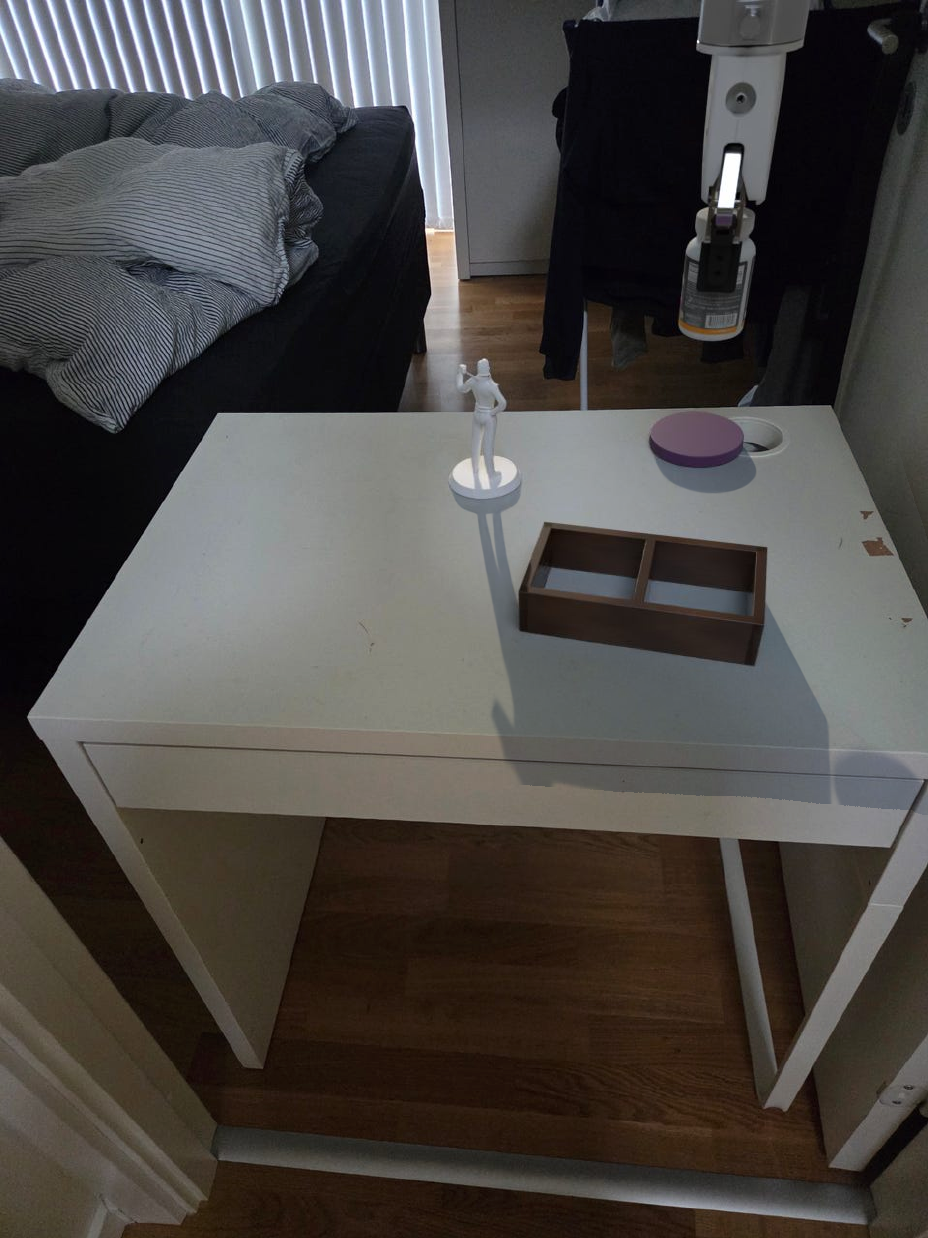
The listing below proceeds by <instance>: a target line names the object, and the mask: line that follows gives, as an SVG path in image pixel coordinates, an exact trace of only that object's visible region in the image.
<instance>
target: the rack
mask: <svg viewBox="0 0 928 1238" xmlns="http://www.w3.org/2000/svg"><path fill="white" fill-rule="evenodd" d="M768 550H769V549H768V547H767V546H761V545H753V544H752V545H751V544H743V543H735V542H727V541H718V540H709V539H699V538H691V537H683V536H673V535H665V534H657V533H656V534H655V533H648V532H647V533H646V532H638V531H629V530H622V529H621V530H620V529H611V528H604V527H603V528H602V527H595V526H594V527H593V526H587V525H577V524H576V525H575V524H568V523H561V522H560V523H559V522H550V521H543V524H542V526H541V529H540V532H539V534H538V537H537V540H536V543H535V546H534V548H533V551H532V553H531V556H530V559H529V561H528V565H527V567H526V569H525V573H524V575H523V578H522V580H521V583H520V586H519V589H518V591H517V595H518V596H517V597H518V630H519V632H523V633H524V632H525V633H530V634H536V635H544V636H552V637H558V638H564V639H572V640H578V641H584V642H591V643H598V644H605V645H612V646H618V647H619V646H620V647H624V648H631V649H640V650H644V651H645V650H646V651H653V652H659V653H665V654H673V655H678V656H687V657H692V658H693V657H694V658H699V659H706V660H714V661H719V662H725V663H733V664H739V665H740V664H741V665H746V666H752V667H754V666H756V662H757V658H758V656H759V649H760V646H761V641H762V639H763V638H762V637H763V633H764V629H765V623H766V622H765V619H766V599H767V598H766V596H767V572H768V571H767V570H768V569H767V568H768ZM552 568H556V569H564V570H573V571H580V572H588V573H596V574H605V575H612V576H619V577H627V578H634V579H637V580H636V583H635V588H634V593H633V597H632V599H626V598H620V597H613V596H612V597H610V596H603V595H596V594H589V593H582V592H581V593H580V592H574V591H566V590H561V589H560V590H559V589H551V588H545V587H546V584H547V581H548V578H549V575H550V572H551V569H552ZM652 581H659V582H667V583H674V584H682V585H691V586H700V587H707V588H713V589H724V590H730V591H737V592H747V602H746V615H745V614H738V613H730V612H724V611H714V610H710V609H709V610H708V609H701V608H694V607H686V606H678V605H672V604H664V603H656V602H648V601H649V596H650V591H651V586H652Z"/></svg>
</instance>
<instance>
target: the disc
mask: <svg viewBox="0 0 928 1238" xmlns="http://www.w3.org/2000/svg"><path fill="white" fill-rule="evenodd" d="M648 438H649V440H648V443H649V448H650V450H651V451H652V452H653V453H654V454H655V455H656V456H657V457H659V458H660V459H662V460H664V461H665V462H668V463H671V464H672V465H673V464H674V465H678V466H681V467H687V468H713V467H717V466H723V465H724V464H727V463H730V462H732V461H734V460H735V459H736V458H737V457H738V456H739V455H740V454H741V452H742V450H743V446H744V441H745V434H744V430H743V429H742V428H741V426H740V425H739V424H737V423H736V422H735V421H733V420H732V419H730V418H728V417H726V416H723V415H720V414H717V413H712V412H707V411H698V410H697V411H695V410H694V411H690V410H689V411H679V412H675V413H671V414H667V415H664V416H663V417H660V418H659V419H658V420H655V422H654V423H653V424H652V426H651V427H650V429H649V437H648Z"/></svg>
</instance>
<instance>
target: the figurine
mask: <svg viewBox="0 0 928 1238" xmlns="http://www.w3.org/2000/svg"><path fill="white" fill-rule="evenodd" d="M490 369H491V367H490V363H489V360H488V359H487V358H482V359H481V360H478V362H477V366H476V370H477V374H476V375H473V374H472V373H470V372H469V371H467V365H466V364H459V367H458V372H457V375H456V377H455V387H456V390H457V391H458V392H459V393H462V394H463V393H464V394H467V393H469V392H470V391H471V392H472V395H473V396H474V399H475V407H474V411H473V416H472V427H471V443H470V445H471V446H470V448H471V450H470V455H471V457H469V458H466V459H463V460H462V461H460V462H458V464H457V465H455V466H454V468H453V470H452V471H451V472H450V474H449V477H448V484H449V487H450V489H451V490H452V491H453V492H455V493H456V494H458V495H460V496H462V497H465V498H468V499H474V500H489V499H497V498H500V497H504V496H505V495H509V494H510V493H512V492H513V491H515V490H516V489H517V488H519V486H520V484H521V483H522V480H523V476H522V473H521V471H520V469H519V468H518V467H517V466H516V464H515V463H514V462H513V461H511V460H510V459H508V458H505V457H503V456H498V455H494V454H495V453H494V451H495V450H494V449H495V448H494V447H495V440H496V439H495V437H496V433H497V426H498V417H497V415H498V414H500V413H502V412H504V411H505V410H506V408H507V400H506V398H505V397H504V395H503V394H502V393H501V391H500V389H499V385H500V384H499V383H496V382H495V381H494V380H493V378H492V375H491V372H490ZM464 375H468V376H470V377H469V378H468V379H467V380H466V381H465V382H464ZM496 401H497V403H498V404H497V405H495V404H496ZM482 444H483V454H482V455H481V451H482Z"/></svg>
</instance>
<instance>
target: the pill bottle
mask: <svg viewBox="0 0 928 1238" xmlns="http://www.w3.org/2000/svg"><path fill="white" fill-rule="evenodd" d="M708 209H709V206H707V207H704V208H702V209H700V210H699V211H698V212H697V213H696V218H695V227H694V228H695V232H696V236H695V237H694V238H692V239H691V240H690V241H689V243H688V244H687V247H686V249H685V255H684V256H685V257H684V266H683V274H682V284H681V285H682V286H681V296H680V305H679V314H678V328H679V330H680V332H681V333H682V334H683V335H685V336H687V337H689V338H690V339H693V340H697V341H704V342H705V341H706V342H717V341H725V340H728V339H729V340H730V339H732V338H734V337H736V336H738V335H739V334H740V333H741V332H742V330H743V329H744V326H745V320H746V317H747V316H746V315H747V309H748V302H749V297H750V290H751V284H752V277H753V272H754V266H755V260H756V255H757V253H756V250H757V249H756V245H755V243H754V241H753V240H752V239H751V238H750V235H751V234H752V232H753V230H754V228H755V221H756V220H755V219H756V214H755V212H754V211H753V210H752V209H750V208H748V207H745V208H744V214H743V221H742V228H741V235H740V241H743V243H742V250H741V256H740V263H739V270H738V276H737V283H736V289H735V291H734V292H733V293H713V292H699V291H697V289H696V283H697V275H698V266H699V258H700V249H701V242H702V240H704V239H705V231H706V224H707V216H708ZM737 210H738V209H734V212H733V214H736V216H737ZM715 214H717V209H715ZM734 230H735V229H734ZM733 235H734V233H733ZM711 239H712V238H711Z"/></svg>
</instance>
